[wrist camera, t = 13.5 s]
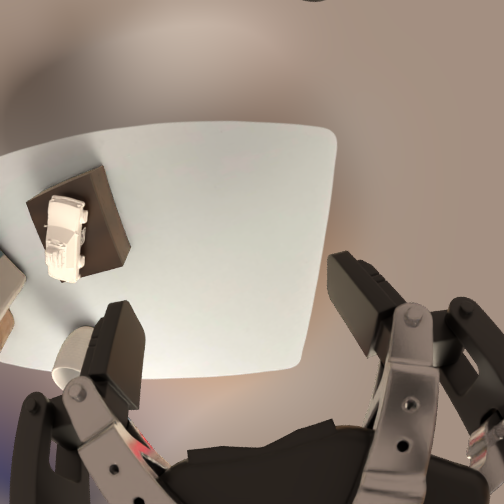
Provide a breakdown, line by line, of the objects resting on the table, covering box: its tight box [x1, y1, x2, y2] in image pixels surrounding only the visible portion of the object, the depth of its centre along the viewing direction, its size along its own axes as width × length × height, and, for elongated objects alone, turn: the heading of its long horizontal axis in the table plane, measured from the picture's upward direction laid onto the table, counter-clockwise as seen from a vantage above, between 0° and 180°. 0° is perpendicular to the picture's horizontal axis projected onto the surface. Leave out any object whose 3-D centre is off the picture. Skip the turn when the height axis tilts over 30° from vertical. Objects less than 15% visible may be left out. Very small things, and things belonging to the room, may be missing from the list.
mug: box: [52, 326, 94, 390], centre depth 43 cm, size 15×11×13 cm
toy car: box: [44, 195, 88, 283], centre depth 29 cm, size 6×12×7 cm, turn 160°
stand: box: [26, 166, 131, 283], centre depth 34 cm, size 14×12×6 cm
